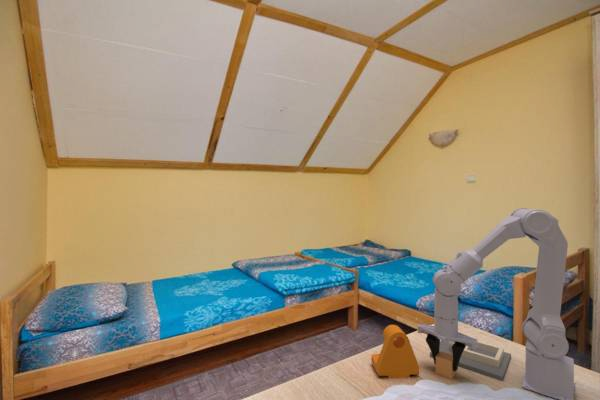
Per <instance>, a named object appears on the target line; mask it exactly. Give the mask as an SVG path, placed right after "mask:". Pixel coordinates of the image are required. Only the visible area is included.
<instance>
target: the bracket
mask: <svg viewBox="0 0 600 400" xmlns="http://www.w3.org/2000/svg"><path fill="white" fill-rule="evenodd" d="M382 337H383V341H384V342H383V344H382V347H381V350H380V353H374V354H371V364H372V366H373V368H374V370H375V372H376V374H377V375H378V376H379V377H380V376H386V377H387V378H388V379H405V378H410V375H420V365H419V363H418V360H417V357H416V355H415V352H414V349H413V346H412V344H411V342H410V339H409V337H408V336H407V334H406V333H405V331H403V330H402V329H401V327H399V326H398V325H396V324H389V325H387V326H386V327H385V328H384V330H383V332H382Z"/></svg>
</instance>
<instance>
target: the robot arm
mask: <svg viewBox="0 0 600 400" xmlns="http://www.w3.org/2000/svg"><path fill="white" fill-rule="evenodd" d="M527 237H528V238H529V239H530V240H531V241H532V242H533V243H535V244H536V245H537V246H538V253H537V254H538V255H537V262H536V263H537V264H536V275H535V284H534V291H533V293H534V294H533V300H532V308H531V309H530V310H529V311H527V317H526V318H525V320H524V321H523V323H522V325H521V330H522V333H523V335H524V337H526V342H525V372H524V375H523V378H522V382H521V387H522V388H523V389H526V390H529V391H531V392H535V393H538V394H540V395H544V396H547V397H550V398H553V399H556V400H558V399H559V400H575V399H574V395H575V392H576V391H577V389H576V383H575V381H574V380H575V378H574V377H575V375H574V374H575V370H574V369H575V367H574V366H575V362H574V361H575V359H574V358H572V357H569V356H566V355H567V353H568V352H569V349H570V347H569V345H570V344H569V341H568V340H567V338H566V327H565V324H564V323H563V320H562V318H561V310H562V302H563V292H564V283H565V273H566V266H567V265H566V264H567V255H568V246H569V245H568V240H567V239H566V237H565V234H564V233H563V231H562V229H561V227H560V226H559V220H558V219H557V218H556V217H554V216H553V215H552V214H551V213H549V212H548V211H547V210H543V209H539V208H538V209H532V208H526V207H520V208H516V209H515V210H513V211H512V212H511V214H510V215H507V216H506V217H504V218H503V219H502V220H501V221H500V222H499V223H498V224H497V225H496V226H495V227H494V228H493V229H492V230H491V231H490V232H489V233H488V234H487V235H486V236H485V237H484V238H483V239H481V241H480V242H479V243H477V245H476V246H474V247H473V248H472V249H464V250H463V251H457V252H456V253H455V256H456V257H454V259H452V260H451V261H450V262H449V263H448V264H447V265H446V264H444V265H443V266H442V269H439V270H437V271H435V273H434V275H433V277H432V282H433V284H434V286H435V288H434V297H433V298H434V302H433V303H434V310H433V311H434V313H433V315H434V317H433V318H434V325H429V324H428V325H427V324H423V323H419V324H418V325H417V333H418V334H425V335H426V338H425V342H426V344H427V346H428V348H429V350H430V352H431V353H432V356H433V357H432V359H433V363H434V365H435V366H436V355H437V354H438V353H439V347H440V341H441V340H443V341H446V340H449V341H452V342H455V343H454V344H453V346H452V352H453V371H455V372H456V373H457V370H458V369H459V366H458V364H459V360H460V357H461V355H462V353H463V351H464V349H465V347H466V346H469V347H471V348H472V349H476V348H477V347H478V341H479V340H478V338H475V337H471V336H468V335H466V334H464V333H462V332H459V300H458V293H460V291H461V290H462V284H464V283H466V281H468V280H469V279H470V278H471V277H472V276H474V275H475V274H476V273H477V272H478V271H479V270H481V269H482V268H483V267H484V263H483V262H484V259H485V258H487V257H488V256H489V255H490V254H491V253H493V252H495V250H497V249H498V248H499V247H501V246H502V245H503V244H505V243H507V241H509V240H513V239H522V238H527Z"/></svg>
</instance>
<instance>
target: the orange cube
mask: <svg viewBox="0 0 600 400" xmlns="http://www.w3.org/2000/svg"><path fill="white" fill-rule="evenodd" d="M435 373H436V374H438V375H440V376H443V377H446V378H449V379H454V376H455V375H456V373H457V371H456V372H455V371H453V354H450V353H447V352H443V351H440V352H439V353H438V354H437V355H436V365H435Z"/></svg>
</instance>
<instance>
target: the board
mask: <svg viewBox="0 0 600 400" xmlns="http://www.w3.org/2000/svg"><path fill="white" fill-rule="evenodd" d="M454 343H455V342H452V341H449V340H446V341H443V340H440V347H439V352H440V351H443V352H447V353H450V354H453V352H452V346H453V344H454ZM429 357H430V358H433V356H432V353H431V351H430V352H429ZM511 359H512V354H511V353H509V352H506V351H505V348H504V347H501V346H498V345H494V344H490V343H488V342H487V343H486V342H484V341H480V340H478V347H477V348H476V349H472V348H471V347H469V346H466V347H465V349H464V351H463V353H462V355H461V357H460V360H459V364H458V367H460V368H463V369H466V370H469V371H471V372H476V373H478V374H481V375H484V376H487V377H490V378H494V379H497V380H499V381H504V378H505V375H506V372H507V370H508V367H509V364H510V362H511Z"/></svg>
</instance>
